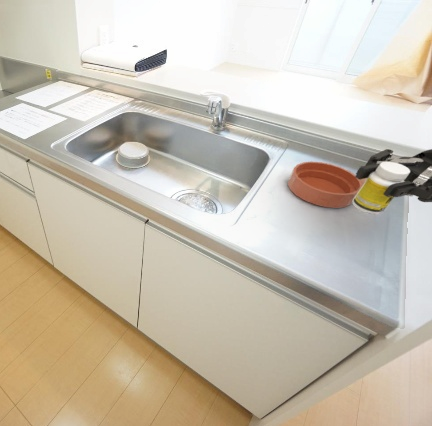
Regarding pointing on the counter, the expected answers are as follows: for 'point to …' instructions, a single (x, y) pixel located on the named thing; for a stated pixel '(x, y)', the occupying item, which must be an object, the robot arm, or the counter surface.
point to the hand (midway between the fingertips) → (373, 182)
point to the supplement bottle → (379, 187)
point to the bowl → (324, 184)
